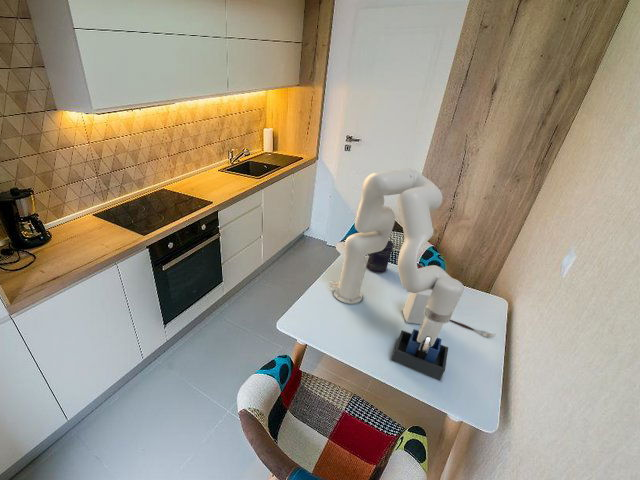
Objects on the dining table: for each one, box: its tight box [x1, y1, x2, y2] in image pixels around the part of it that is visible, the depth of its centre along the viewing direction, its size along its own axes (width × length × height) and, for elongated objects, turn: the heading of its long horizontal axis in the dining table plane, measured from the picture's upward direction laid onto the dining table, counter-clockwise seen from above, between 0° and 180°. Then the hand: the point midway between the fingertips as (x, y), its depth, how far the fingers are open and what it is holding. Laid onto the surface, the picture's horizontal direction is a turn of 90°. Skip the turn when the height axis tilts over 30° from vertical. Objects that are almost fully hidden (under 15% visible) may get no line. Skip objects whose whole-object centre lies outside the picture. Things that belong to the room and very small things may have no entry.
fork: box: [449, 319, 497, 338], centre depth 128 cm, size 3×16×2 cm, turn 49°
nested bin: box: [405, 328, 442, 364], centre depth 112 cm, size 9×7×6 cm
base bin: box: [390, 330, 449, 381], centre depth 114 cm, size 16×12×5 cm
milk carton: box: [402, 290, 432, 325], centre depth 129 cm, size 7×7×19 cm
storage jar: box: [366, 239, 394, 274], centre depth 163 cm, size 10×10×15 cm
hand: (421, 350), depth 113 cm, fingers closed on nested bin, 7 cm apart
